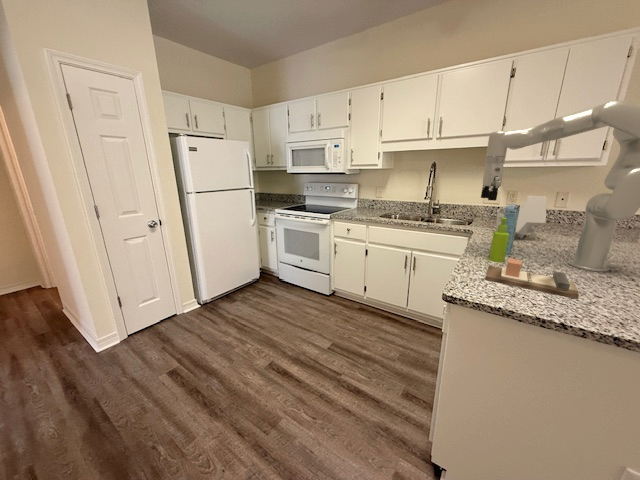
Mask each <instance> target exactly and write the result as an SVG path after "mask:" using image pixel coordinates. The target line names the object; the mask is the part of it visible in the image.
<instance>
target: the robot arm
mask: <svg viewBox="0 0 640 480" xmlns="http://www.w3.org/2000/svg"><path fill="white" fill-rule="evenodd" d="M605 127H610V128H612V135H613V137H614V139H615V140H616V141H617V142H618V145H619V148H620V150H619V154H618V156H617V158H616V160H615V161H614V163H613V165H612V167H611V168H610V170H609V171H608V173H607V175H606V176H605V179H604V182H603V183H604V185H605V187H606V188H607V189H609V190H611V191H612V192H611V193H608V192H606V193H605V192H604V193H599V194H596V195H594V196H592V197H591V198H590V199H589V200H588V201H587V202H586V205H585V211H584V221H583V224H582V225H583V226H582V228H581V233H580V236H579V240H578V244H577V246H576V251H575V253H574V254H575V255H574V258H573V259H568V264H569V266H571V267H574V268H578V269H581V270H585V271H590V272H598V273H599V272H600V273H601V272H609V269H610V268H611V267H612V268H618V269H622V268H623V263H621V262H619V263H618V262H616V261H611V260H609V259H608V255H609V252H610V249H611V246H612V242H613V239H614V236H615V234H616V229H617V221H625V220H627V219H629V218H631V217H633V216H634V215H635V214H636V213H637V212H638V211H639V210H640V106H639V105H636V104H634V103H631V102H628V101H625V100H620V99H617V100H616V99H615V100H611V101H608V102H604V103H601V104H598V105H597V106H593V107H590V108H586V109H583V110H580V111H577V112H576V111H575V112H572V113H569V114H566V115H562V116H559V117H556V118H553V119H551V120H549V121H546V122H544V123H541V124H538V125H536V126H532V127H528V128H526V129H523V128H522V129H517V130H511V131H510V130H509V131H507V130H500V131H499V130H498V131H493V132H491V133H490V134H489V137H488V143H487V148H486V154H485V160H484V165H485V169H484V173H483V174H484V175H483V178H482V187H481V188H482V189H481V195H480V198H481V199H487V200H488V201H497V197H498V193H499V188H500V187H501V186H502V183H503V175H504V174H503V173H504V164H505V163H506V158H507V157H506V156H507V151H508V149H509V150H518V149H519V150H520V149H523V148H525V147H529V146H533V145H536V144H541V143H545V142H551V141H557V140H560V139H561V140H562V139H564V138H568V137H571V136H572V137H573V136H574V135H579V134H583V133H587V132H590V131H594V130H598V129H601V128H602V129H603V128H605Z"/></svg>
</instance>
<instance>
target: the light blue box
mask: <svg viewBox="0 0 640 480" xmlns="http://www.w3.org/2000/svg"><path fill="white" fill-rule="evenodd" d="M507 206H508V207H507V208H506V209H505V215H504V217H505V218H507V219H508V220H506V224H505V225H507V231H506V233H509V238H508V243H507V248H506V253H505V256H509V255H510V253H511V250H512V249H513V245H514V240H515V237H516V236H515V231H516V225H517V220H518V215H519V209H520V207H521V205H520V204H519V205H517V204H508V205H507Z"/></svg>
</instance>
